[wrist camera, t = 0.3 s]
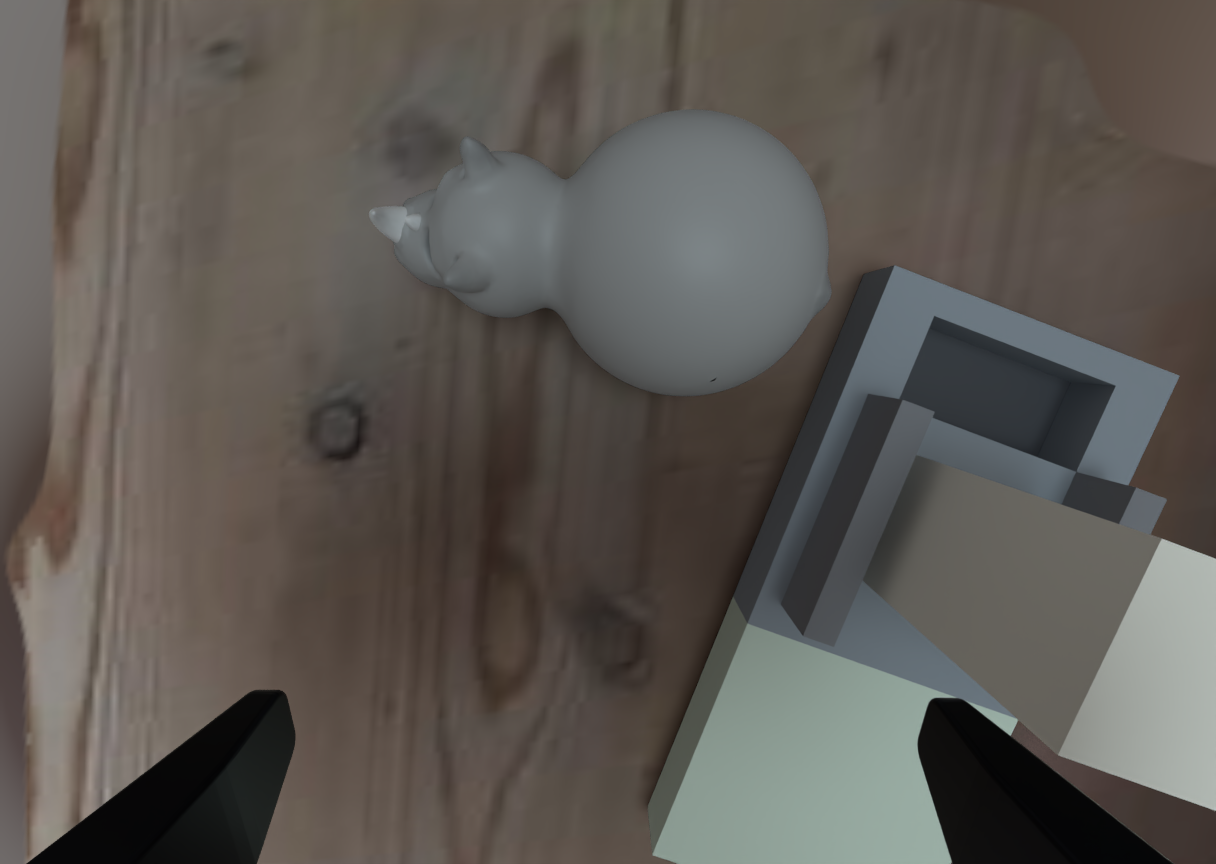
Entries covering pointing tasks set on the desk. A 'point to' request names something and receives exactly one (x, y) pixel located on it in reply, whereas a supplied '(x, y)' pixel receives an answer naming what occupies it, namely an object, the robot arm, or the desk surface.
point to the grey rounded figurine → (636, 247)
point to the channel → (840, 555)
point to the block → (1063, 622)
